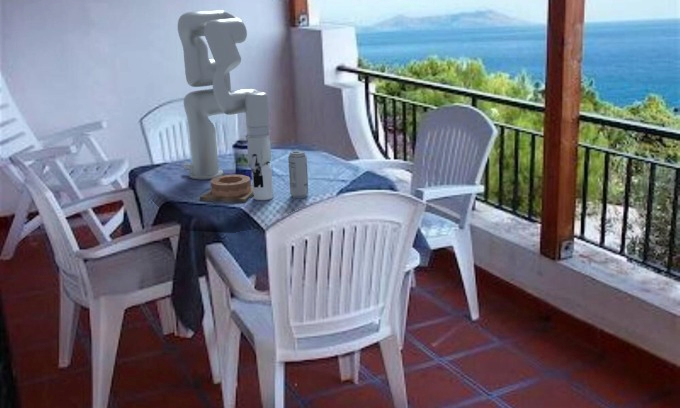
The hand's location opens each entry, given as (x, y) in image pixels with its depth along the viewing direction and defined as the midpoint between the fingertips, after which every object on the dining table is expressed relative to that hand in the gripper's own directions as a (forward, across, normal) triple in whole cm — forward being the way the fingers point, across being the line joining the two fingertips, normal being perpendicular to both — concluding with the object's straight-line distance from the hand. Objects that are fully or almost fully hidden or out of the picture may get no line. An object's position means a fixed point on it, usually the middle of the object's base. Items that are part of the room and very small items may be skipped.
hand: (262, 183), depth 242 cm
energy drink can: (+5, -4, +12) cm, 13 cm away
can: (+5, 0, 0) cm, 5 cm away
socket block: (+5, -2, -12) cm, 13 cm away
